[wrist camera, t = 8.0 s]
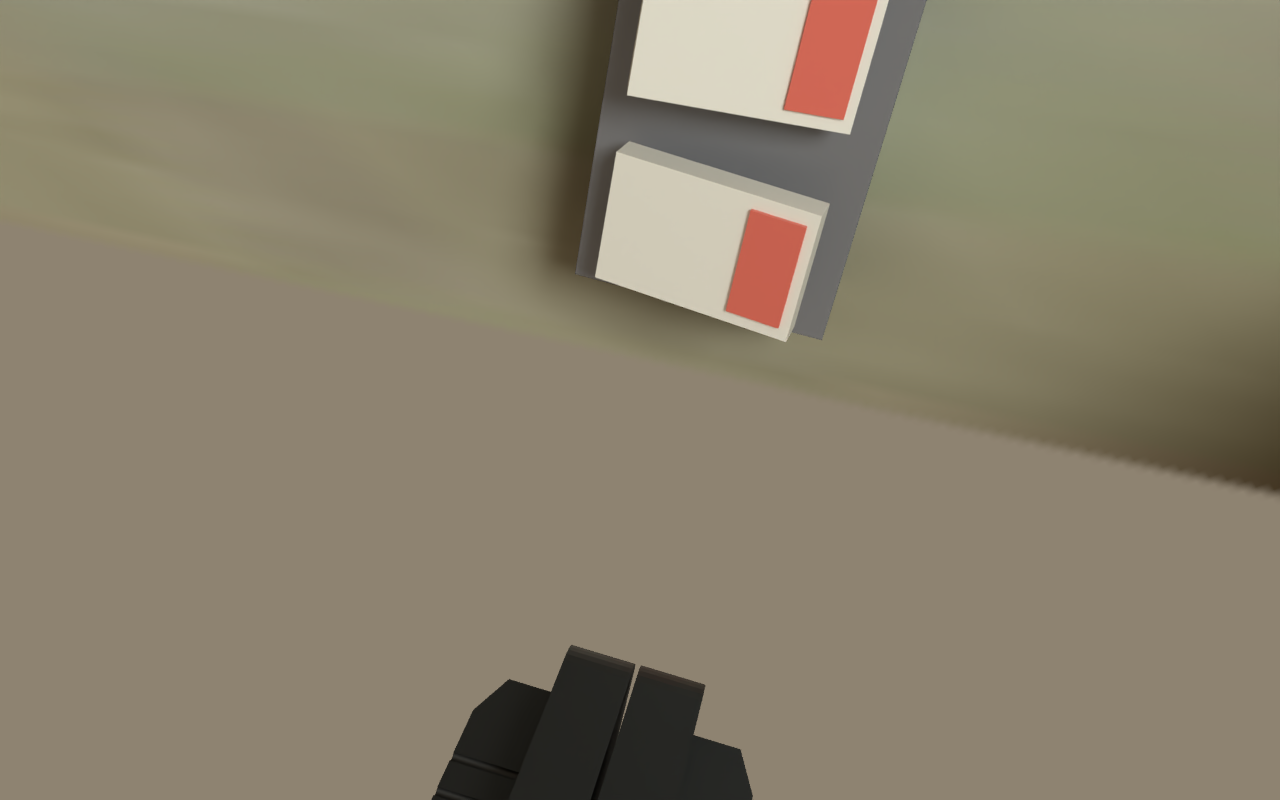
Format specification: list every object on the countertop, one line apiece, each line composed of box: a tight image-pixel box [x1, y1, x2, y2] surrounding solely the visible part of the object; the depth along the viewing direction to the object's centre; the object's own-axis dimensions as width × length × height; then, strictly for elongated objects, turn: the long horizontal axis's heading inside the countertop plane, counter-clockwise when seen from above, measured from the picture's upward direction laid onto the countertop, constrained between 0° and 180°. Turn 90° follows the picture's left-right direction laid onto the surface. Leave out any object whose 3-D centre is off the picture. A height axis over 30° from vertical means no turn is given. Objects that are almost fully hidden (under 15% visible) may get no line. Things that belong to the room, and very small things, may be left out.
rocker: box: [595, 141, 830, 342], centre depth 33 cm, size 6×4×1 cm, turn 79°
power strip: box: [575, 0, 927, 340], centre depth 32 cm, size 8×18×5 cm, turn 169°
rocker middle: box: [627, 0, 889, 135], centre depth 29 cm, size 6×4×1 cm, turn 80°
